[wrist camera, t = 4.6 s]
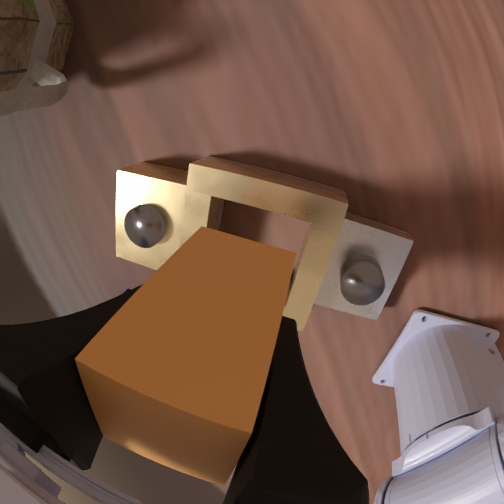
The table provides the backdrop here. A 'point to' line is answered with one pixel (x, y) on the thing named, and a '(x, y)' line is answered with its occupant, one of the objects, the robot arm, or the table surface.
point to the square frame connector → (272, 199)
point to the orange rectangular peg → (191, 354)
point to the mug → (33, 53)
